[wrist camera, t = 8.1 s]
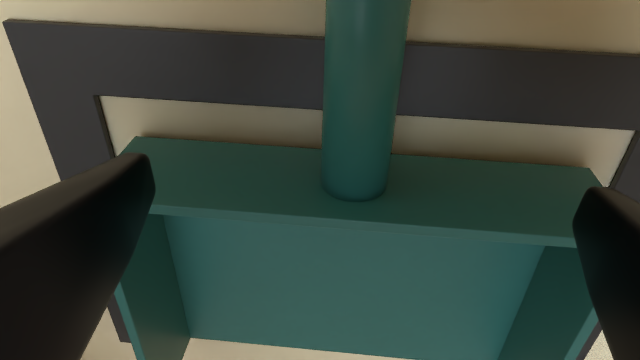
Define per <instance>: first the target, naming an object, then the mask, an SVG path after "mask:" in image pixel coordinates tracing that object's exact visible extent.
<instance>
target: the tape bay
mask: <svg viewBox="0 0 640 360" xmlns="http://www.w3.org/2000/svg"><path fill="white" fill-rule="evenodd" d="M2 23H3V26H4V28H5V31H6V34H7V36H8V39H9V42H10V45H11V47H12V50H13V53H14V55H15V58H16V61H17V63H18V66H19V69H20V72H21V74H22V77H23V80H24V82H25V85H26V88H27V91H28V93H29V96H30V99H31V101H32V104H33V107H34V109H35V112H36V115H37V118H38V120H39V123H40V126H41V128H42V131H43V134H44V137H45V139H46V142H47V145H48V147H49V150H50V153H51V155H52V158H53V161H54V164H55V166H56V169H57V172H58V174H59V177H60V180H61V181H63V180H65V179H67V178H70V177H72V176H74V175H76V174H79V173H81V172H83V171H85V170H88V169H90V168H92V167H94V166H97V165H99V164H101V163H103V162H106V161H108V160H110V159H112V158H115V157H114V153H113V150H112V146H111V142H110V139H109V135H108V131H107V128H106V124H105V121H104V117H103V113H102V110H101V106H100V102H99V99H98V95H101V96H116V97H131V98H147V99H162V100H177V101H193V102H208V103H223V104H239V105H254V106H269V107H284V108H300V109H315V110H323V87H324V54H325V37H314V36H296V35H278V34H260V33H242V32H224V31H206V30H188V29H170V28H152V27H134V26H116V25H98V24H80V23H62V22H43V21H25V20H5V21H3V22H2ZM396 115H407V116H422V117H438V118H453V119H468V120H484V121H499V122H514V123H529V124H545V125H560V126H575V127H591V128H606V129H621V130H637V132H636V134H635V136H634V138H633V140H632V142H631V144H630V146H629V148H628V150H627V152H626V154H625V156H624V158H623V161H622V163H621V165H620V167H619V169H618V171H617V173H616V175H615V177H614V179H613V181H612V183H611V185H610V188H614V189H616V190H618V191H619V192H621V193H623V194H625V195H626V196H628V197H630V198H632V199H634V200H635V201H637V202H639V203H640V54H622V53H603V52H585V51H567V50H549V49H531V48H513V47H495V46H477V45H459V44H441V43H423V42H406V43H405V51H404V58H403V66H402V74H401V81H400V89H399V96H398V104H397V111H396ZM107 307H108V310H109V312H110V315H111V318H112V320H113V323H114V326H115V329H116V331H117V334H118V337H119V339H120V342H128V343H131V341H130V338H129V335H128V332H127V329H126V326H125V324H124V321H123V318H122V315H121V312H120V309H119V306H118V303H117V301H116V298H115V295H114V294H113V296H112V298H111V299H110V301H109V303H108V305H107ZM601 331H602V328H601V325H600V322H599V320H598V322H597V324H596V325H595V327H594V329H593V330H592V332H591V334H590V336H589V337H588V339H587V341H586V342H585V344H584V346H583V348H582V349H581V351H580V353H579V354H578V356H577V358H576V360H584V359H585V357H586V355H587V354H588V352H589V350H590V349H591V347H592V345H593V344H594V342H595V340H596V339H597V337H598V336H599V334H600V332H601Z"/></svg>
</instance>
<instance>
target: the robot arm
mask: <svg viewBox="0 0 640 360" xmlns="http://www.w3.org/2000/svg"><path fill="white" fill-rule="evenodd" d="M155 192H156V186H155V181H154V176H153V172H152V168H151V163H150V159H149V157H148V156H147V155H146V154H144V153H134V152H126V153H124V154H121V155H119V156H117V157H115V158H112V159H110V160H108V161H106V162H103V163H101V164H99V165H97V166H94V167H92V168H90V169H88V170H85V171H83V172H81V173H79V174H76V175H74V176H72V177H70V178H67V179H65V180H63V181H61V182H58V183H56V184H54V185H52V186H49V187H47V188H45V189H43V190H40V191H38V192H36V193H34V194H31V195H29V196H27V197H25V198H22V199H20V200H18V201H16V202H13V203H11V204H9V205H7V206H4V207H2V208H0V360H80V359H81V357H82V355H83V353H84V351H85V349H86V347H87V345H88V343H89V341H90V339H91V337H92V335H93V333H94V331H95V329H96V327H97V325H98V323H99V321H100V319H101V317H102V315H103V313H104V311H105V309H106V307H107V305H108V303H109V301H110V299H111V298H112V296H113V294H114V292H115V290H116V288H117V286H118V284H119V282H120V280H121V278H122V276H123V274H124V272H125V270H126V268H127V266H128V264H129V262H130V260H131V258H132V256H133V253H134V251H135V248H136V246H137V243H138V241H139V238H140V235H141V232H142V230H143V227H144V224H145V221H146V219H147V216H148V213H149V211H150V208H151V205H152V202H153V200H154V197H155ZM572 229H573V234H574V238H575V242H576V246H577V250H578V254H579V258H580V262H581V266H582V270H583V274H584V278H585V282H586V285H587V289H588V292H589V296H590V298H591V301H592V304H593V307H594V309H595V312H596V315H597V317H598V320H599V322H600V325H601V328H602V330H603V333H604V336H605V338H606V341H607V343H608V346H609V349H610V351H611V354H612V356H613V359H614V360H640V203H639V202H637V201H635V200H634V199H632V198H630V197H628V196H626V195H625V194H623V193H621V192H619V191H618V190H616V189H614V188H610V187H598V186H592V187H589V188H588V189H587V190H586V191H585V193H584V195H583V197H582V200H581V202H580V204H579V206H578V209H577V211H576V213H575V215H574V218H573V222H572Z"/></svg>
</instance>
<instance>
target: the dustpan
mask: <svg viewBox="0 0 640 360" xmlns="http://www.w3.org/2000/svg"><path fill="white" fill-rule="evenodd" d="M410 6H411V0H326V21H325V54H324V87H323V120H322V149H312V148H297V147H283V146H269V145H254V144H240V143H225V142H211V141H197V140H182V139H168V138H154V137H139V136H136V137H134V139H133V140H132V141H131V142H130V143H129V144H128V145H127V147H126V148H125V149H124V150H123V151H122V152H121V154H124V153H126V152H134V153H144V154H146V155H147V156H148V157H149V159H150V163H151V168H152V172H153V176H154V181H155V186H156V192H155V197H154V200H153V202H152V205H151V208H150V211H149V213H148V216H147V219H146V221H145V224H144V227H143V230H142V232H141V235H140V238H139V241H138V243H137V246H136V248H135V251H134V253H133V256H132V258H131V260H130V262H129V264H128V266H127V268H126V270H125V272H124V274H123V276H122V278H121V280H120V282H119V284H118V286H117V288H116V290H115V292H114V295H115V298H116V301H117V303H118V306H119V309H120V312H121V315H122V318H123V321H124V324H125V326H126V329H127V332H128V335H129V338H130V341H131V344H132V346H133V349H134V352H135V355H136V358H137V360H182V358H183V356H184V353H185V350H186V348H187V345H188V343H189V340H190V338H199V339H210V340H220V341H230V342H240V343H251V344H261V345H271V346H281V347H292V348H302V349H312V350H322V351H333V352H343V353H353V354H363V355H374V356H384V357H394V358H404V359H414V360H576V358H577V356H578V354H579V353H580V351H581V349H582V348H583V346H584V344H585V342H586V341H587V339H588V337H589V336H590V334H591V332H592V330H593V329H594V327H595V325H596V324H597V322H598V317H597V315H596V312H595V309H594V307H593V304H592V301H591V298H590V296H589V292H588V289H587V285H586V282H585V278H584V274H583V270H582V266H581V262H580V258H579V254H578V250H577V246H576V242H575V238H574V234H573V229H572V222H573V218H574V215H575V213H576V211H577V209H578V206H579V204H580V202H581V200H582V197H583V195H584V193H585V191H586V190H587V189H588V188H589V187H592V186H598V187H603V186H602V185H601V183H600V182H599V181H598V179H597V178H596V176H595V175H594V174H593V172H592V171H591V169H590V168H585V167H570V166H556V165H542V164H527V163H513V162H498V161H484V160H470V159H455V158H441V157H427V156H412V155H398V154H391V149H392V141H393V134H394V126H395V119H396V111H397V104H398V96H399V89H400V81H401V74H402V66H403V58H404V51H405V43H406V36H407V28H408V21H409V13H410ZM121 154H120V155H121Z"/></svg>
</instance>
